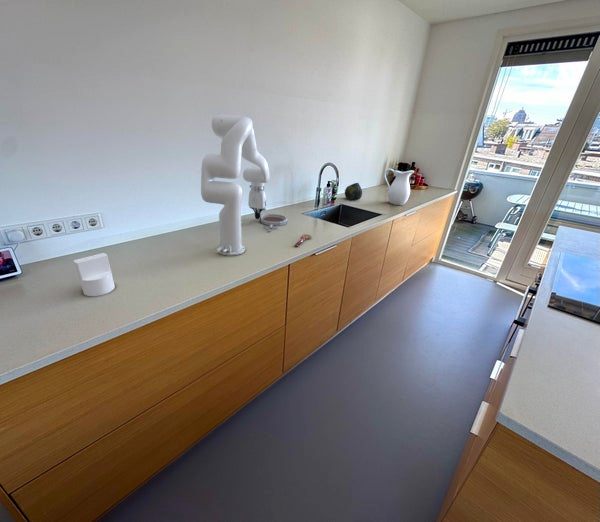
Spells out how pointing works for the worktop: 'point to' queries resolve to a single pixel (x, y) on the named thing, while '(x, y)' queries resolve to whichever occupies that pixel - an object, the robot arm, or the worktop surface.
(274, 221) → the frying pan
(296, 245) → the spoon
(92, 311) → the worktop surface
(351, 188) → the squash
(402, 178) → the pitcher
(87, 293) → the cylinder with rectangular tab
